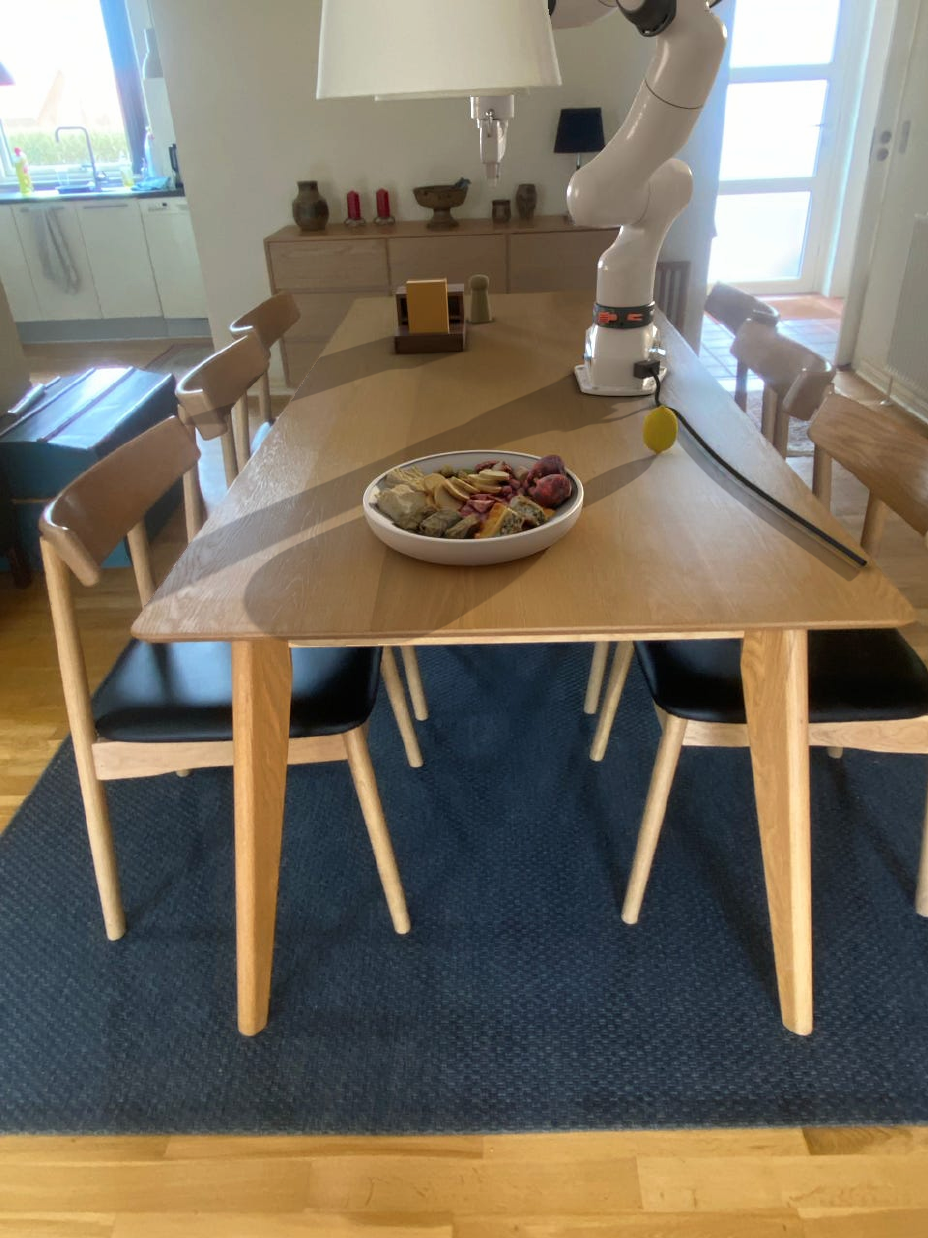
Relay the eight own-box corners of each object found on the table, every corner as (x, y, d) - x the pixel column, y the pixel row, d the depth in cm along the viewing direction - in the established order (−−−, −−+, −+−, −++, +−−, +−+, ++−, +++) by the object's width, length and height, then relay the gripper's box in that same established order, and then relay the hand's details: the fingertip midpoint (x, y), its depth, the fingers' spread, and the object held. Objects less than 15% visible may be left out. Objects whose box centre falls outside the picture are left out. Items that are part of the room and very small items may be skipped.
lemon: (634, 451, 134) (637, 403, 130) (662, 445, 136) (666, 397, 132) (653, 462, 130) (657, 413, 126) (682, 456, 132) (687, 407, 127)
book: (448, 331, 190) (445, 281, 184) (409, 333, 190) (405, 283, 184) (448, 327, 193) (446, 277, 187) (410, 329, 194) (407, 279, 188)
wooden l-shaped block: (463, 351, 190) (461, 301, 184) (395, 353, 191) (390, 304, 185) (466, 329, 207) (464, 283, 201) (402, 332, 208) (399, 286, 202)
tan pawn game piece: (477, 316, 218) (475, 272, 212) (496, 318, 215) (495, 273, 209) (464, 321, 214) (462, 276, 208) (483, 323, 211) (481, 278, 205)
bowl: (411, 599, 99) (406, 541, 94) (340, 505, 122) (333, 455, 118) (624, 543, 108) (628, 488, 104) (521, 466, 131) (520, 418, 127)
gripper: (504, 110, 160) (505, 189, 168) (510, 105, 177) (511, 178, 184) (472, 111, 161) (474, 190, 168) (481, 106, 177) (483, 178, 185)
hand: (493, 184), depth 177 cm, fingers open, 8 cm apart
